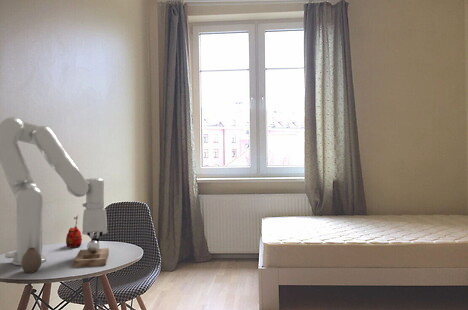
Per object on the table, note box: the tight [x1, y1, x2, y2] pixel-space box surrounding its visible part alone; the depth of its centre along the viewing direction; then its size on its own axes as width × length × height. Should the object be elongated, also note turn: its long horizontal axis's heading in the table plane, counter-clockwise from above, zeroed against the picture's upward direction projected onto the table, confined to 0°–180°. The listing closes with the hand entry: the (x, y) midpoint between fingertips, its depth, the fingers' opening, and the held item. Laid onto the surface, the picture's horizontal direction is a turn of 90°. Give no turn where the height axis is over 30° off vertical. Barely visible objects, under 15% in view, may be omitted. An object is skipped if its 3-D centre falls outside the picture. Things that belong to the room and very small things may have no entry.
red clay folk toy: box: [65, 215, 83, 249], centre depth 193 cm, size 8×7×15 cm
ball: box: [86, 240, 100, 252], centre depth 173 cm, size 5×5×5 cm
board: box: [73, 247, 110, 268], centre depth 170 cm, size 12×18×2 cm, turn 14°
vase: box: [20, 248, 42, 273], centre depth 154 cm, size 7×7×9 cm
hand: (95, 246), depth 180 cm, fingers closed
